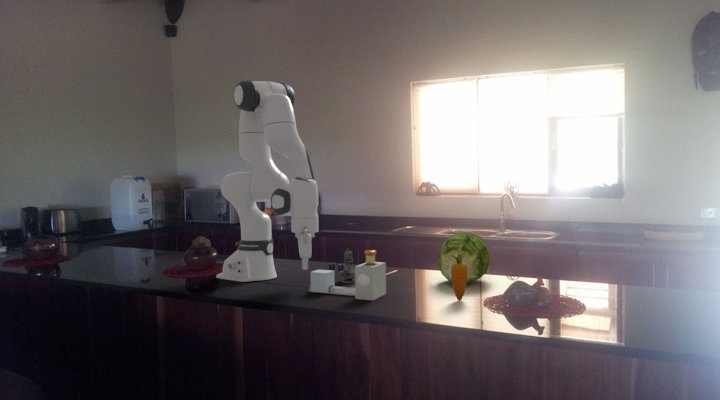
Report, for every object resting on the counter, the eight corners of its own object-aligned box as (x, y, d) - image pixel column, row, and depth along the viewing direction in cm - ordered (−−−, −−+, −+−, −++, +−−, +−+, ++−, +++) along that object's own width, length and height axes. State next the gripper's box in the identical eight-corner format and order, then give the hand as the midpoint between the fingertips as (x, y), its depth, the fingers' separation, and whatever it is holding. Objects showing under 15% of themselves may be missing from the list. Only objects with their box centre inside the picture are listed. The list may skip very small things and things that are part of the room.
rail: (308, 291, 193) (308, 285, 193) (312, 290, 195) (312, 284, 195) (360, 296, 185) (360, 290, 185) (363, 294, 187) (363, 288, 187)
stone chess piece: (355, 283, 206) (354, 249, 205) (338, 283, 207) (338, 248, 206) (358, 280, 212) (358, 246, 211) (342, 279, 213) (341, 246, 212)
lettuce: (425, 288, 197) (432, 240, 193) (442, 266, 218) (449, 222, 214) (477, 302, 191) (485, 252, 187) (490, 278, 213) (498, 232, 208)
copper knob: (362, 269, 184) (362, 251, 183) (367, 267, 187) (367, 249, 187) (373, 270, 182) (373, 252, 182) (378, 268, 185) (378, 250, 185)
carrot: (464, 303, 174) (463, 252, 173) (448, 301, 176) (448, 251, 176) (470, 300, 178) (470, 250, 177) (454, 298, 181) (454, 249, 180)
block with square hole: (354, 299, 181) (354, 266, 181) (368, 292, 191) (368, 261, 190) (372, 300, 179) (372, 267, 178) (386, 293, 188) (385, 262, 188)
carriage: (310, 291, 191) (310, 272, 191) (318, 288, 196) (318, 269, 195) (327, 292, 189) (327, 273, 188) (334, 289, 193) (334, 270, 193)
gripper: (315, 228, 184) (316, 273, 184) (313, 225, 204) (313, 265, 204) (295, 228, 183) (295, 273, 183) (295, 225, 203) (295, 265, 204)
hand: (305, 269), depth 194 cm, fingers closed
